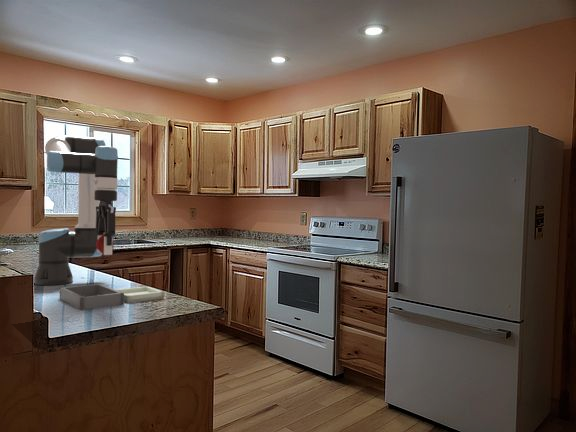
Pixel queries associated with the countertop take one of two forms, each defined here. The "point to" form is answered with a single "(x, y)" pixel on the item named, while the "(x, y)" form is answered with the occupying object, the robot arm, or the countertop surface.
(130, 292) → the tray
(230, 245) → the countertop surface
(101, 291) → the bin
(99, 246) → the onion
